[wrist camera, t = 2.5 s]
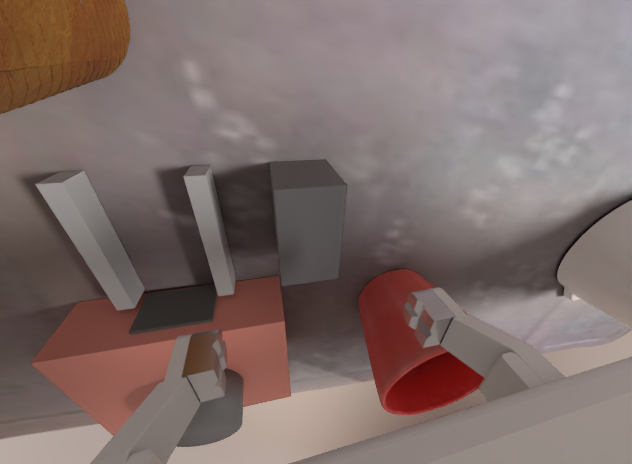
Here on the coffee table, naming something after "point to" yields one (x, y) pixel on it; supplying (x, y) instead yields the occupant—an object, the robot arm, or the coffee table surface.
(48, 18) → the disposable coffee cup
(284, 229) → the tall grey rectangular block
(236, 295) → the pink block with rods
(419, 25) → the coffee table surface
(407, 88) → the coffee table surface
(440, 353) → the flower pot
